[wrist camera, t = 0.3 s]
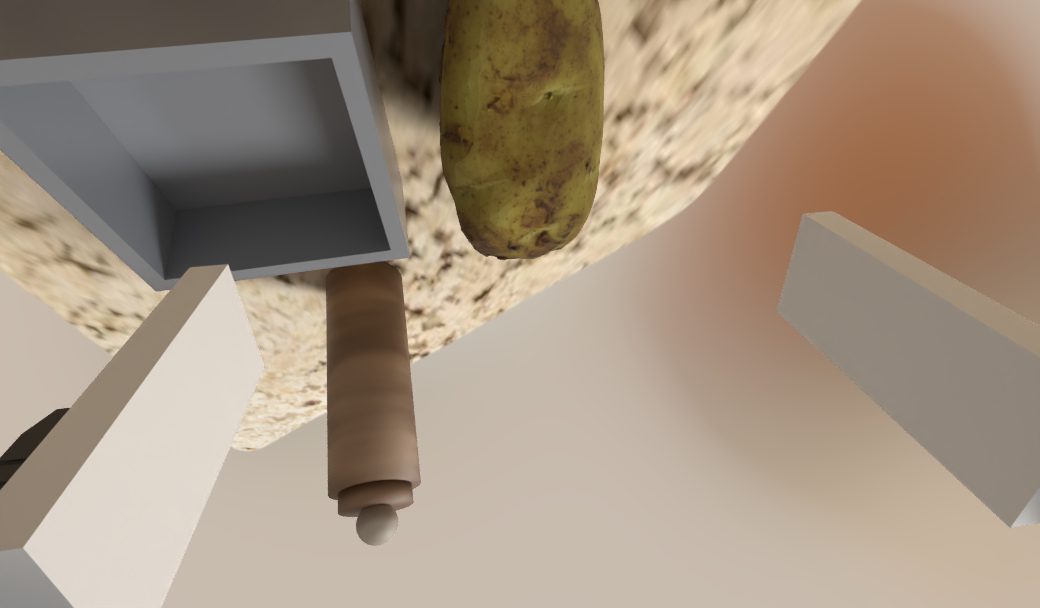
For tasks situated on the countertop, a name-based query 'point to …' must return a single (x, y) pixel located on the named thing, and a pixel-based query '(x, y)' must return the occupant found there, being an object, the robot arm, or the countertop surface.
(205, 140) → the tub
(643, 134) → the countertop surface
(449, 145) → the potato
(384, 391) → the pepper mill
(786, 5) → the countertop surface
